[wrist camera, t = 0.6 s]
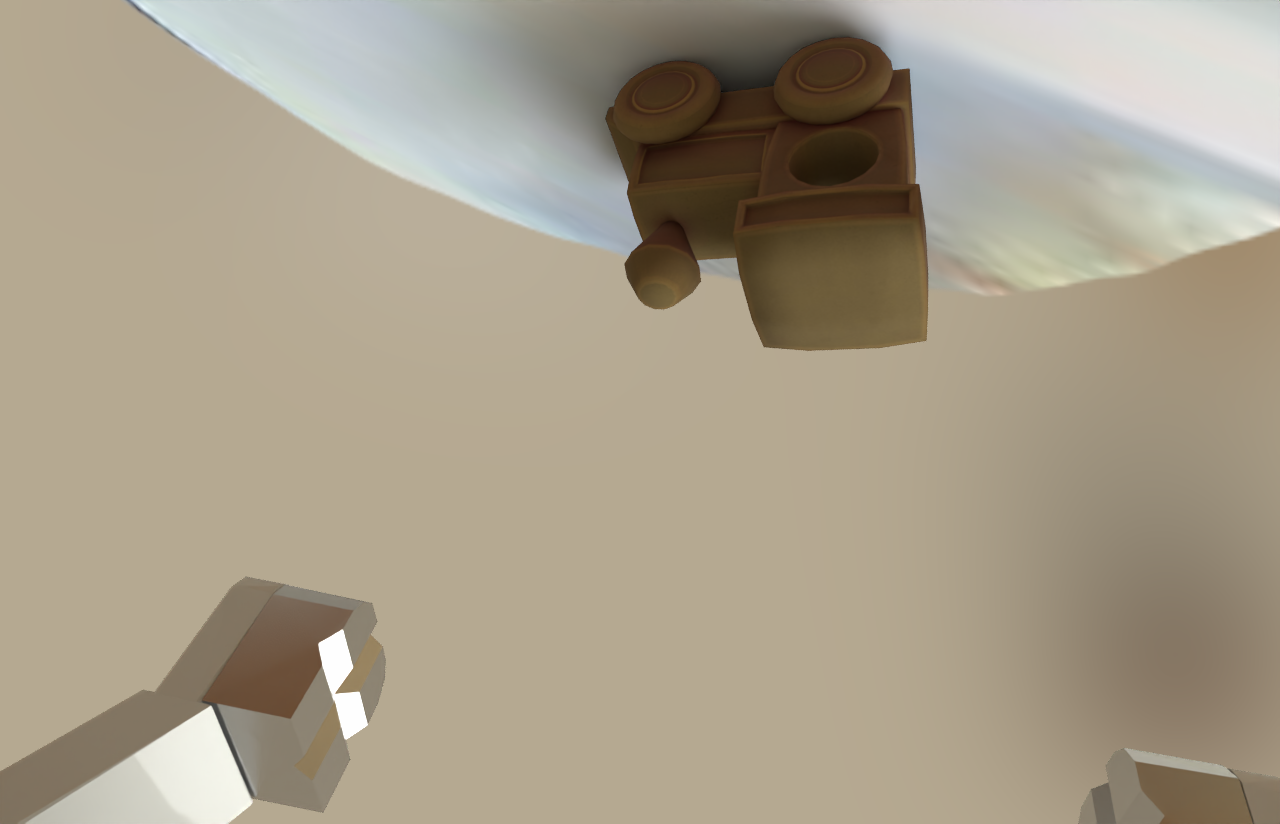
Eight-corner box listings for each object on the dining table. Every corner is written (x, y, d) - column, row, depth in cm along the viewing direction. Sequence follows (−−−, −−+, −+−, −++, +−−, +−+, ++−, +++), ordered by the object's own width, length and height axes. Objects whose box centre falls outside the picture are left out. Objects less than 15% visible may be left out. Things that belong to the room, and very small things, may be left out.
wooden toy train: (924, 13, 55) (921, 209, 46) (931, 165, 64) (930, 355, 55) (606, 60, 62) (548, 240, 53) (652, 192, 71) (609, 367, 61)
